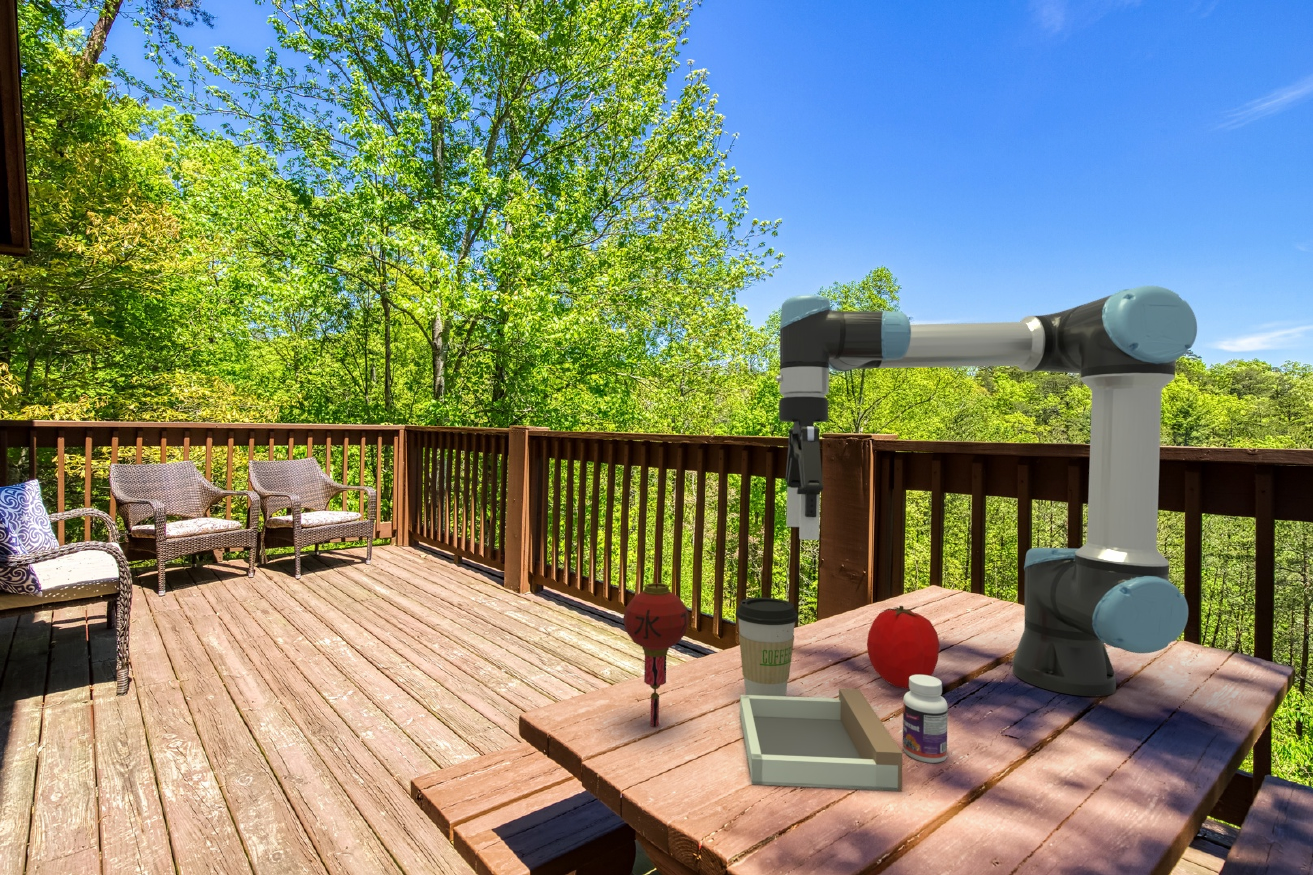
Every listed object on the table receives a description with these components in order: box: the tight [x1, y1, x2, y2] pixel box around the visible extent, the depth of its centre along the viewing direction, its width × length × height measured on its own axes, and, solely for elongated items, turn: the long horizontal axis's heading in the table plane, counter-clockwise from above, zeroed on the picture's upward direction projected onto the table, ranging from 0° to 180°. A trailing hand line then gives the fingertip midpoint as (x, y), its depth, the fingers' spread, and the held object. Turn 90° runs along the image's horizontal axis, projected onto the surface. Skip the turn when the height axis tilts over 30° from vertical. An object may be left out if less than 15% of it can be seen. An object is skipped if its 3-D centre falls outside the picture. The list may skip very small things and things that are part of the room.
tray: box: [739, 687, 903, 792], centre depth 84 cm, size 18×19×4 cm
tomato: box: [866, 605, 940, 690], centre depth 106 cm, size 12×12×13 cm
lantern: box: [622, 514, 690, 728], centre depth 90 cm, size 10×10×30 cm
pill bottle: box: [902, 675, 949, 764], centre depth 83 cm, size 5×5×10 cm
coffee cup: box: [735, 596, 799, 697], centre depth 100 cm, size 10×10×15 cm
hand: (801, 532), depth 98 cm, fingers open, 13 cm apart
